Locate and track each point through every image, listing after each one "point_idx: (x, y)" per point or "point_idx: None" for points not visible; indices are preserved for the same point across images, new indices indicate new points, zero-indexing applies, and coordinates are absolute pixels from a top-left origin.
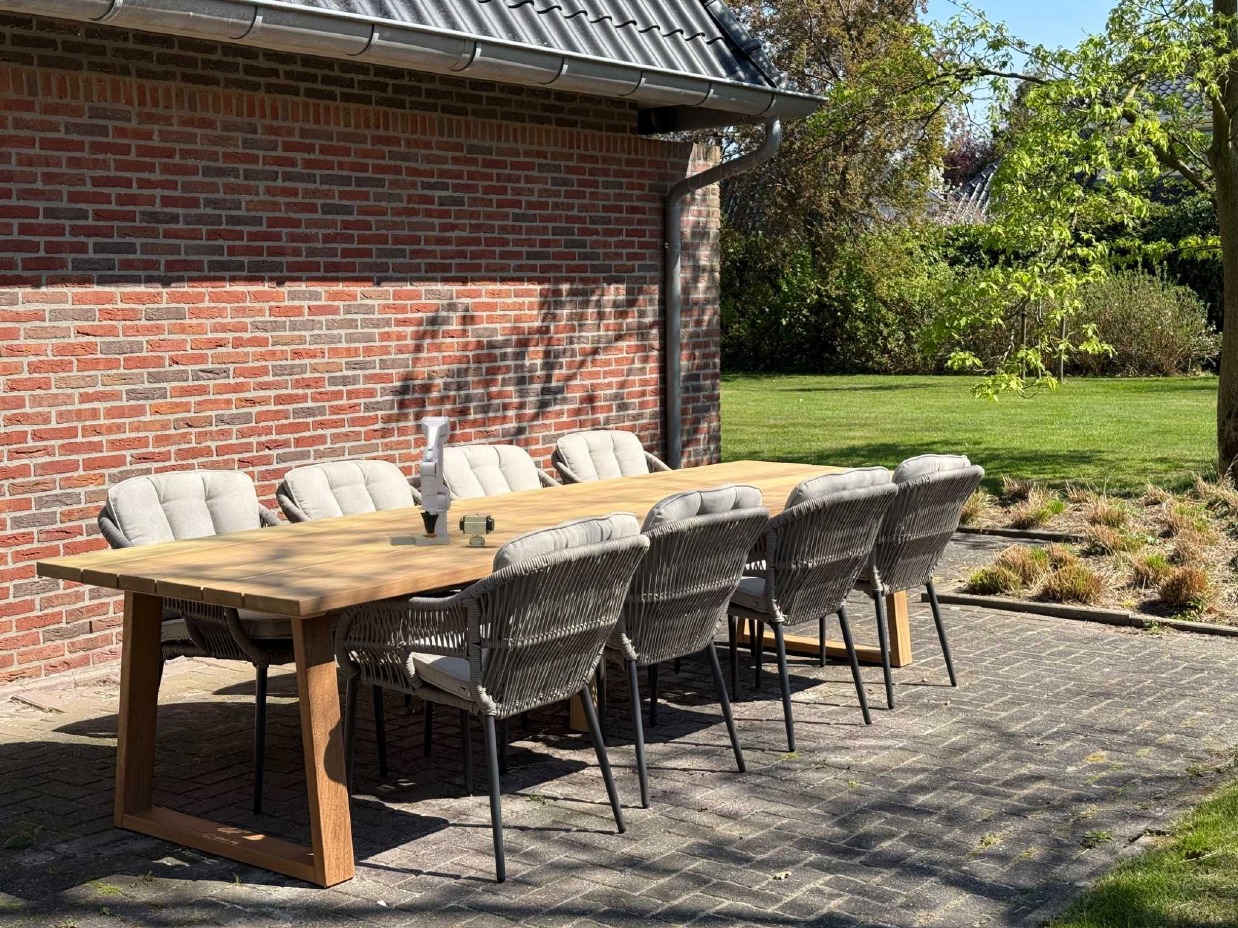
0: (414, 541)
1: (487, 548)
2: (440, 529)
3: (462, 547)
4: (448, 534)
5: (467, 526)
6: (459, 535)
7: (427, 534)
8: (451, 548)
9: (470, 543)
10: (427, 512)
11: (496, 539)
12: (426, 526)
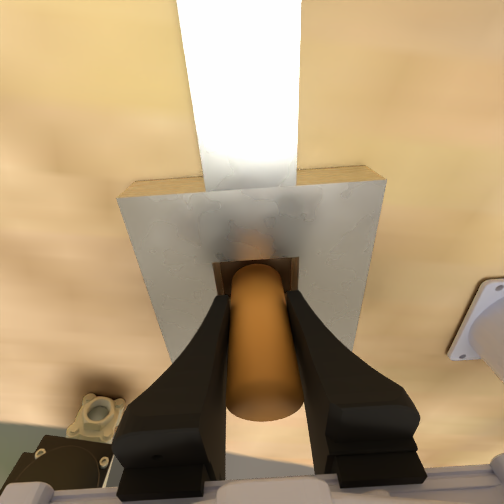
0: (196, 182)
1: (56, 422)
2: (489, 353)
3: (76, 368)
4: (451, 356)
5: None
6: (437, 380)
7: (241, 286)
8: (38, 334)
9: (89, 403)
10: (332, 461)
11: (275, 447)
12: (215, 325)
